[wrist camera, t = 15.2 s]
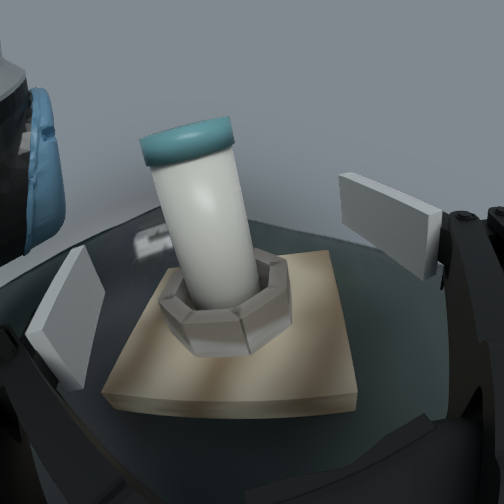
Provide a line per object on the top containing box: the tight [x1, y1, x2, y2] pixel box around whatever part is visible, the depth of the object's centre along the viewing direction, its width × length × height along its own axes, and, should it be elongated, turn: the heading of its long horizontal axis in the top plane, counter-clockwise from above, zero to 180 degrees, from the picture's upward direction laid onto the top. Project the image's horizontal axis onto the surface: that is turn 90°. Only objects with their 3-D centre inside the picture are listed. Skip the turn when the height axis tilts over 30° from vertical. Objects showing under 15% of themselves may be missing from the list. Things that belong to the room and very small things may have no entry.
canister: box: [139, 116, 262, 311], centre depth 20 cm, size 5×5×14 cm
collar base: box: [101, 248, 358, 419], centre depth 23 cm, size 16×16×5 cm
